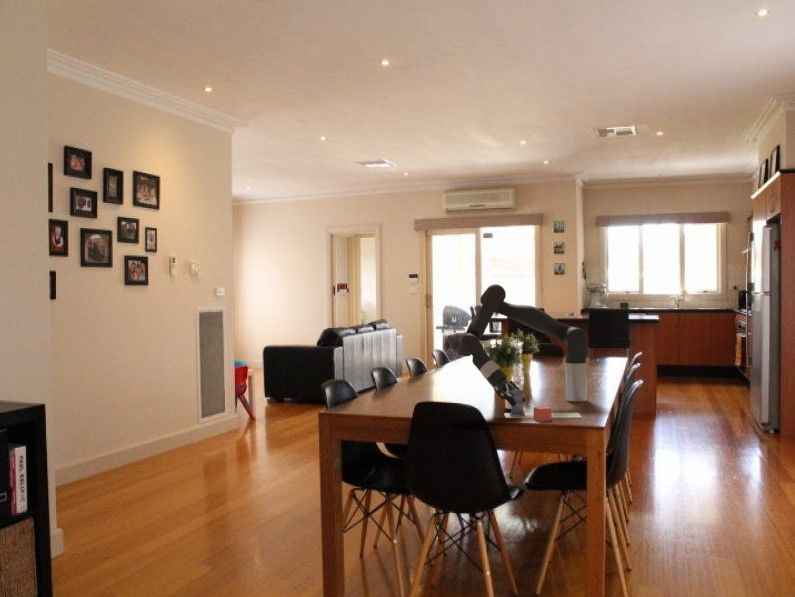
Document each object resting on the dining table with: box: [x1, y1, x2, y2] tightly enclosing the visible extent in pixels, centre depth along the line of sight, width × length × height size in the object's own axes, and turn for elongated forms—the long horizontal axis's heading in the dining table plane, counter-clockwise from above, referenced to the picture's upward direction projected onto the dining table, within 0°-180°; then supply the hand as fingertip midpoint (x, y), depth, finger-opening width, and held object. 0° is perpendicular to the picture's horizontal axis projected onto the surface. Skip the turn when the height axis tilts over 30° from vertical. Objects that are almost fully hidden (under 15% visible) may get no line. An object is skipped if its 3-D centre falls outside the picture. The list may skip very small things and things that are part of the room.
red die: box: [533, 405, 552, 422], centre depth 264 cm, size 5×5×6 cm
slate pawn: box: [509, 389, 526, 417], centre depth 274 cm, size 6×6×10 cm
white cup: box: [504, 383, 523, 410], centre depth 292 cm, size 8×8×10 cm
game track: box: [503, 412, 583, 419], centre depth 273 cm, size 10×30×1 cm, turn 85°
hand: (519, 403), depth 273 cm, fingers open, 8 cm apart
